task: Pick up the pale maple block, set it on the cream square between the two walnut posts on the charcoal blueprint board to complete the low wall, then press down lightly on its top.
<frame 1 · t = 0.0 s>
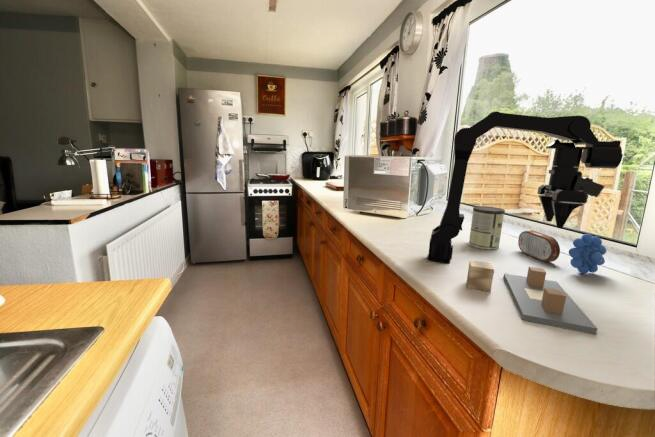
hand: (554, 224, 84), 15 cm above the worktop, fingers open, 9 cm apart
coffee can: (483, 246, 114), on the worktop
grapes: (585, 275, 88), on the worktop
blueprint board: (541, 300, 70), on the worktop
tin: (534, 258, 103), on the worktop
maple block: (478, 287, 77), on the worktop
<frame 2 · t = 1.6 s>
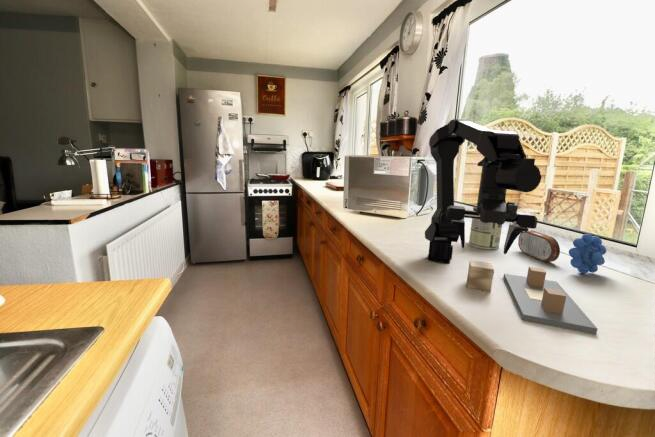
hand: (483, 250, 75), 9 cm above the worktop, fingers open, 9 cm apart
nothing on the worktop moved.
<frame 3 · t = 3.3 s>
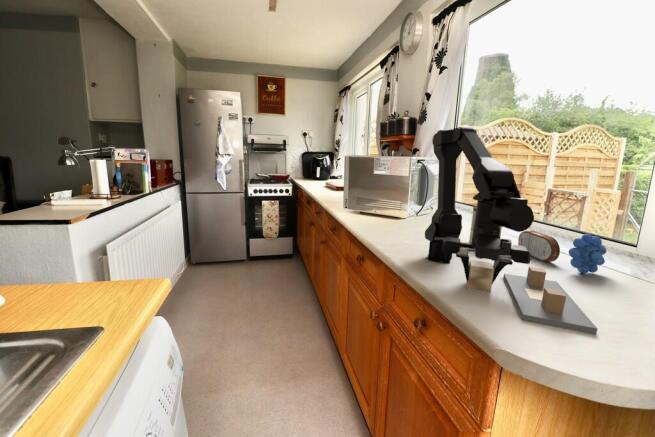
hand: (478, 282, 76), 1 cm above the worktop, fingers closed on maple block, 5 cm apart
maple block: (478, 286, 77), on the worktop, touching gripper
everything else where it was.
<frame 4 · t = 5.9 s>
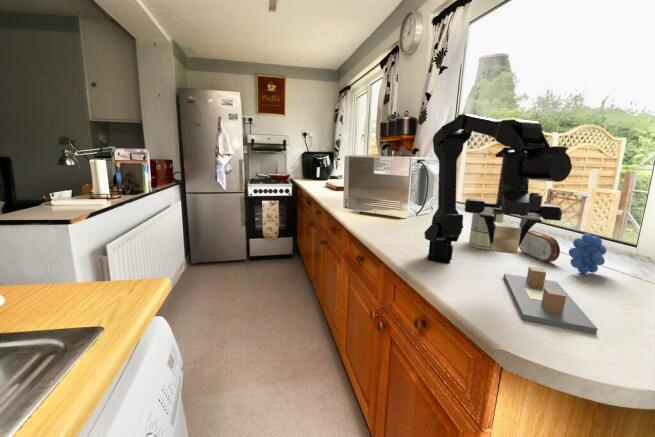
hand: (504, 244, 72), 12 cm above the worktop, fingers closed on maple block, 5 cm apart
maple block: (503, 249, 72), point 11 cm above the worktop, touching gripper
everything else where it was.
when the fingers open (3 cm above the worktop, at t = 8.5 s): maple block stays where it is, resting on blueprint board.
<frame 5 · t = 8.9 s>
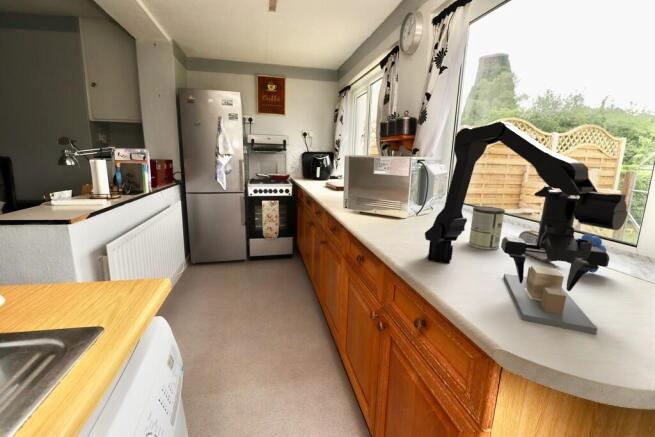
hand: (543, 286, 70), 3 cm above the worktop, fingers open, 9 cm apart
maple block: (541, 295, 70), point 1 cm above the worktop, touching blueprint board
everything else where it was.
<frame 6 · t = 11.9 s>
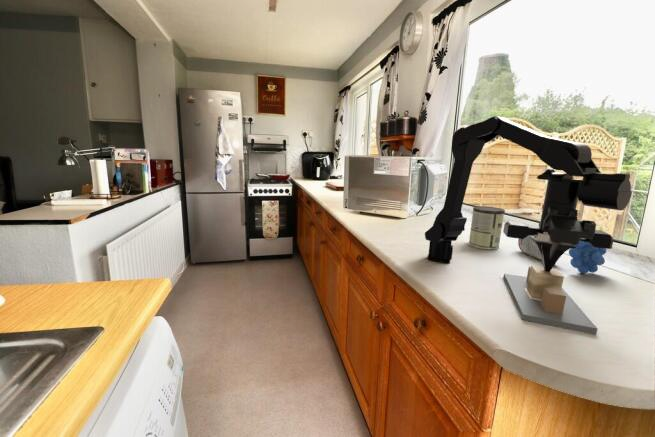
hand: (546, 270, 69), 7 cm above the worktop, fingers closed, pressing on maple block
maple block: (541, 295, 70), point 1 cm above the worktop, touching blueprint board, gripper
everything else where it was.
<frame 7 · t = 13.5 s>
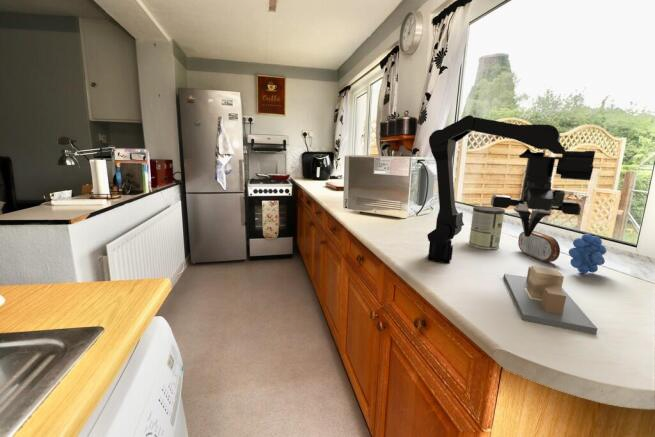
hand: (526, 236, 81), 12 cm above the worktop, fingers closed
maple block: (541, 295, 70), point 1 cm above the worktop, touching blueprint board
everything else where it was.
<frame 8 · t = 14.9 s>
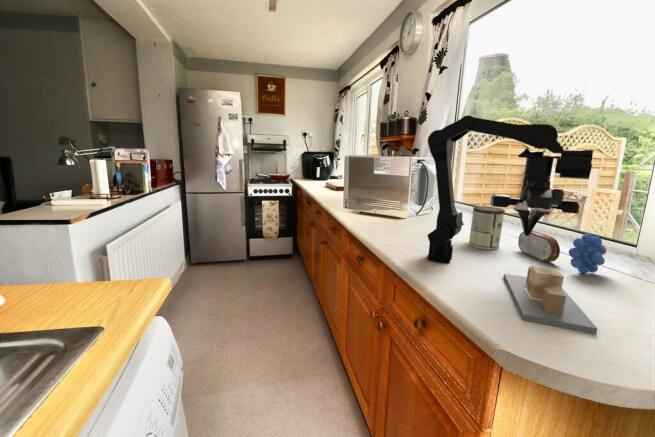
hand: (526, 235, 81), 12 cm above the worktop, fingers closed
nothing on the worktop moved.
at the end: maple block 0.1 cm off-centre on the blueprint board, point 1.3 cm above the blueprint board's base; maple block tilted 0°; the gripper is holding nothing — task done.
